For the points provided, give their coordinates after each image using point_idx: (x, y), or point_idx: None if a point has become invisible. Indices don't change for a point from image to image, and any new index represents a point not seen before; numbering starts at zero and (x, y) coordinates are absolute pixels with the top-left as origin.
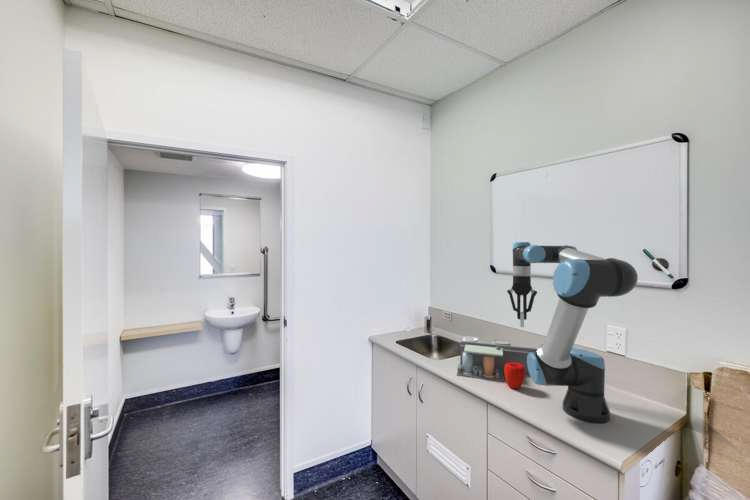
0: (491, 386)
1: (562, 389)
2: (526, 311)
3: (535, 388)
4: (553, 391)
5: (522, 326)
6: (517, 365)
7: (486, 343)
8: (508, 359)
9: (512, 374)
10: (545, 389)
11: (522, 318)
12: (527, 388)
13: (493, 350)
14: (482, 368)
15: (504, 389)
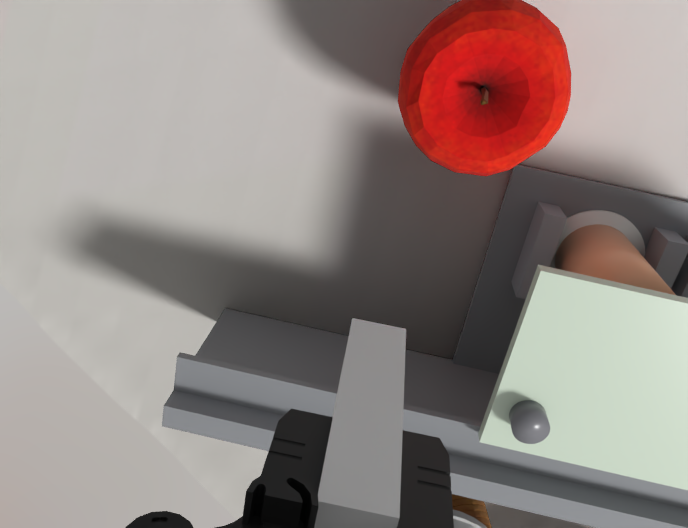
0: (639, 64)
1: (158, 92)
2: (245, 525)
3: (328, 80)
4: (224, 48)
5: (373, 329)
6: (455, 112)
7: (595, 524)
8: (419, 397)
9: (528, 4)
10: (266, 74)
11: (363, 414)
12: (383, 71)
13: (585, 379)
14: None
15: (558, 24)
